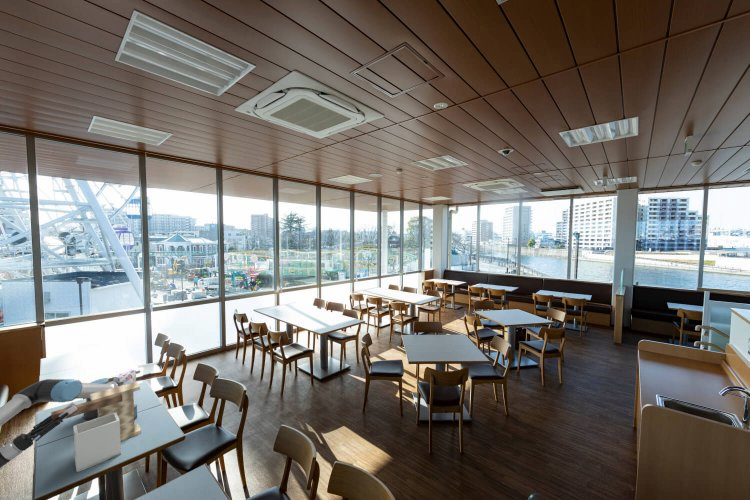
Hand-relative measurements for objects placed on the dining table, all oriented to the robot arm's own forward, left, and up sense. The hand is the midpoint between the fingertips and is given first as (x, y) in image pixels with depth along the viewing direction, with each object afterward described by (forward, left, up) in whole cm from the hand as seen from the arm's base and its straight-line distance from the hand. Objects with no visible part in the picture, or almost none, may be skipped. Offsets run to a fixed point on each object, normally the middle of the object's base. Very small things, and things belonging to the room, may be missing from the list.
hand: (75, 405), depth 163 cm
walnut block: (-4, +4, -5) cm, 7 cm away
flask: (-41, -1, -34) cm, 53 cm away
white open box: (-6, +6, -33) cm, 34 cm away
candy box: (-77, -32, -34) cm, 89 cm away
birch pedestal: (-23, +3, -33) cm, 40 cm away
